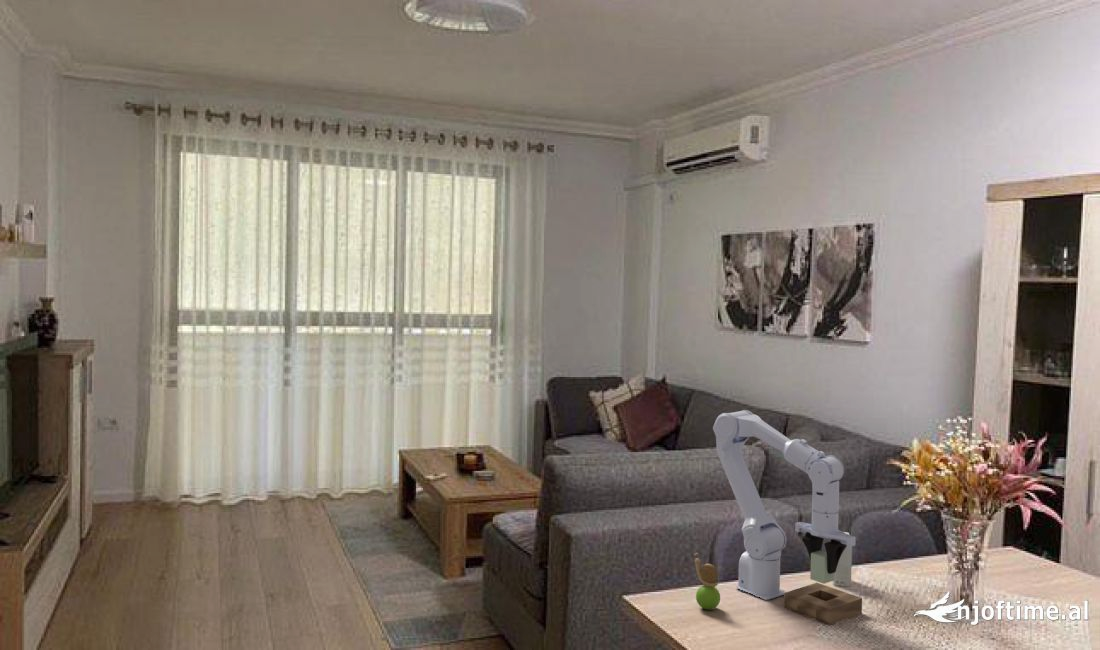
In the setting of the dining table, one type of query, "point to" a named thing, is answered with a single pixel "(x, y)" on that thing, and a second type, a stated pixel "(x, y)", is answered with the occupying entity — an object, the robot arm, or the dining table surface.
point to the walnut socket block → (823, 603)
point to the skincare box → (844, 568)
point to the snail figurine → (707, 585)
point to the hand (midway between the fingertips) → (823, 570)
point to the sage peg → (820, 568)
